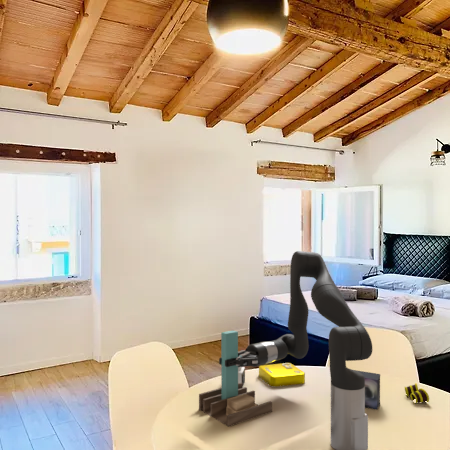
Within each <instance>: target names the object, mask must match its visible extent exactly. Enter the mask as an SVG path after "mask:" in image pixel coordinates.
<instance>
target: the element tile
mask: <svg viewBox="0 0 450 450" xmlns="http://www.w3.org/2000/svg"><path fill="white" fill-rule="evenodd" d="M305 375H306V372H304V371H303V370H301V369H300V368H298V367H297V366H296V365H294V364H292V363H291V362H285V363H284V362H283V363H275V364H274V363H273V364H264V365H260V366H258V377H259V378H260V379H261V380H263V381H264V382H265V383H266V384H267V385H268V386H269V387H272V388H276V387H285V386H286V387H289V386H297V385H303V384H305V383H306V376H305Z"/></svg>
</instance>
